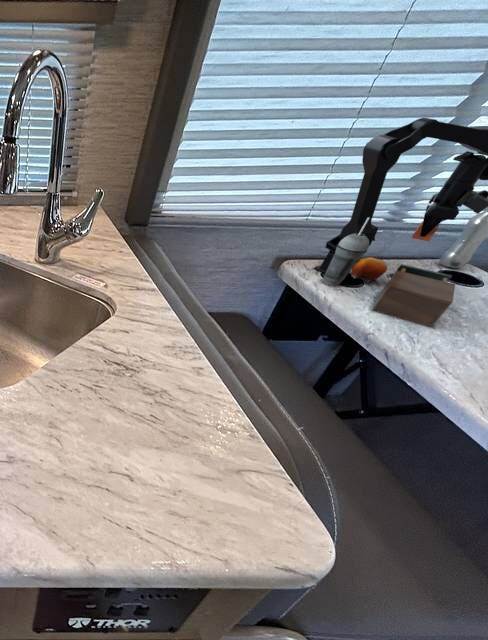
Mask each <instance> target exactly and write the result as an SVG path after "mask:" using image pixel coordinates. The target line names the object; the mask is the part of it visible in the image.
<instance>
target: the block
mask: <svg viewBox="0 0 488 640" xmlns="http://www.w3.org/2000/svg"><path fill="white" fill-rule="evenodd" d="M422 224H423V221H421V222H420V223H419V224H418V226H417V228H416V229H415V231H414V232H413V234H412V235H411V239H414V240H420V241H426V242H429V241H430V240H431V239H432V238H433V236H434V235H435V234H436V232H437V230H438V229H439V228H440V227H439V226H440V224H438V225H437V226H436V227H435V228H434V229H433V230H432V231H431V232H430V233H428V234H427V235H426V236H425V237H421V236H420V234H421V229H422Z"/></svg>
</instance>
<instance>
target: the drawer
mask: <svg viewBox="0 0 488 640" xmlns="http://www.w3.org/2000/svg"><path fill="white" fill-rule="evenodd" d="M396 271H401V272H406V273H410V274H414V275H419V276H423V277H427V278H431V279H436V280H440V281H444V282H449V281H450V280H451V279H452V276H453V275H452V274H447V273H443V272H438V271H434V270H430V269H425V268H420V267H416V266H411V265H409V264H408V265H407V264H402V263H401V264H400V265H399V266H398V268H397V269H396Z"/></svg>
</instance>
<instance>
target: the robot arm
mask: <svg viewBox="0 0 488 640" xmlns="http://www.w3.org/2000/svg"><path fill="white" fill-rule="evenodd" d="M426 138H430V139H435V140H441V141H447V142H452V143H457V144H459V145H461V146H462V147H463V148H466V149H468V150H470V151H468V150H467V151H465V152H463V153H461V154H459V155H457V156H454V157H453V158H452V160H453V161H456V162H458V165H457V166H456V167H455V168H454V170H453V171H452V173H451V175H450V176H449V178H448V179H447V180H445V182H444V183H443V186H442V187H441V188H440V190H439V191H438V192H437V193H435V194H433V195H432V196H431V197H430V199H429V201H428V204H429V205H427V206H426V209H425V212H424V217H423V220H422V222H423V224H422V229H421V234H420V236H421V237H425V236H426V235H427V234H428V233H430V232H431V231H432V230H433V229H434V228H435V227H436V226H437V225H440V224H441V223H443V222H445V221H448V220H450V221H454V220H455V219H456V218H457V216H458V215H459V214H460V209H459V208H461V207H462V206H464V207H466V208H468V209H469V210H471V211H473V213H475V214H480V213H482V212H484V211H485V210H484V209H485V208H487V207H488V190H486V189H483V190H481V191H479V192H478V191H474V190H475V185H476V184H477V182H478V180H480V181H488V125H480V126H479V125H478V126H465V125H460V124H453V123H448V122H443V121H439V120H437V119H434V118H430V117H429V118H428V117H421V118H418V119H415V120H414V121H411V122H410V123H407V124H405V125H403V126H399V127H397V128H393V129H391V130H389V131H386V132H385V133H383V134H379V135H377V136H374V137H373V138H371V139H370V140H369V141H367V142H366V144H365V145H364V147H363V151H362V160H361V162H362V167H363V176H362V179H361V184H360V186H359V191H358V193H357V196H356V200H355V204H354V207H353V210H352V214H351V217H350V220H349V222H347V223H346V224H345V225H344V226H343V227H342V229H341V231H340V232H339V234H338V235H336V236H335V237H333V238H331V239H329V240H328V241H326V243H325V249H327V250H329V251H328V253H327V254H326V256H325V258H324V259H323V261H322V263H321V264H320V265H316V266H314V267H313V269H314V270H317V271H319V272H321V273H324V274H325V273H326V271H327V269H328V267H329V265H330V263H331V261H332V258H333V256H334V254H335V251H336V248H337V245H338V244H339V243H340V241H341V240H342V239H343V238H345V237H346V236H348V235H351V234H355V233H359V232H360V230H361V229H362V227H363V225H364V223H365V222H366V220H367V218H370V219H369V220H368V222H367V224H366V226H365V227H364V229H363V231H362V233H361V234H363V235H365V236H366V237H367V238H368V239H369V247H370V246H371V245H372V243H373V242H375V241H376V235H377V233H378V231H379V227H378V226H376V225H374V224H373V223H372V220H373V217H374V214H375V211H376V208H377V205H378V202H379V198H380V195H381V193H382V190H383V186H384V184H385V181H386V177H387V174H388V172H389V171H390V170H391V169H392V168H393V167H394V166H395V165H396V164H397V163H398V161H399V159H400V158H401V155H402V154H403V153H406V152H408V151H410V150H411V149H413V148H415V147H416V146H417V145H418V144H419V143H421V141H422V140H425V139H426ZM472 151H474V152H476V153H477V154H475V153H474V152H472ZM486 156H487V157H486ZM430 204H431V205H430Z"/></svg>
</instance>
